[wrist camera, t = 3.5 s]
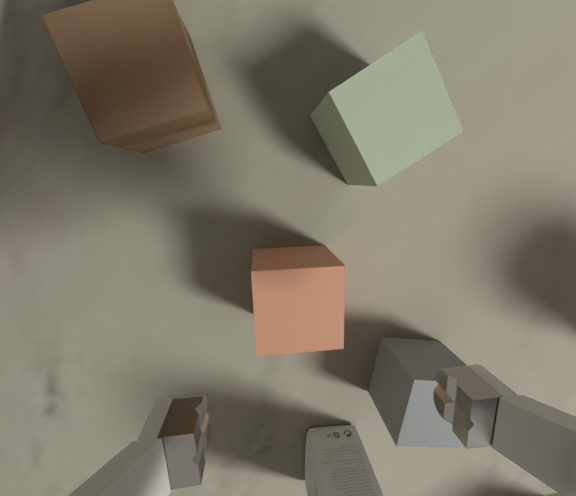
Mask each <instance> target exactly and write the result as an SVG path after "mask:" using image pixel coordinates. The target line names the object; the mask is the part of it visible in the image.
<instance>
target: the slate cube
mask: <svg viewBox="0 0 576 496" xmlns="http://www.w3.org/2000/svg"><path fill="white" fill-rule="evenodd" d="M463 366H467V365H466V364H465V363H464V362H463V361H461V360H460V359H459V358H458V357H457V356H456V355H455V354H454V353H453V352H451V351H450V350H449V349H448V348H447V347H446V346H445V345H444V344H442V343H441V342H440V341H434V340H421V339H407V338H393V337H381V338H380V342H379V347H378V351H377V355H376V360H375V364H374V368H373V373H372V377H371V381H370V385H369V390H368V392H369V394H370V396H371V398H372V400H373V402H374V404H375V406H376V408H377V409H378V411H379V413H380V415H381V417H382V419H383V421H384V423H385V425H386V427H387V429H388V431H389V433H390V435H391V437H392V439H393V441H394V442H395V444H396V446H416V447H462V448H466V447H465V446H464V445H463V444H462V442H461V441H460V440H459V439H458V437H457V436H456V435H455V434H454V432H453V431H452V424H450V423H449V422H447V421H445V420H443V418H442V417H441V416H440V414H439V413H438V411H437V409H436V407H435V403H434V399H433V394H434V389H435V388H436V386H437V385H438V383H437V382H436V380H435V373H436V371H437V369H445V368H454V367H463Z"/></svg>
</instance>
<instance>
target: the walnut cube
mask: <svg viewBox="0 0 576 496" xmlns="http://www.w3.org/2000/svg"><path fill="white" fill-rule="evenodd" d="M42 17H43V19H44V21H45V23H46V26H47V28H48V30H49V32H50V35H51V37H52V39H53V41H54V43H55V46H56V48H57V50H58V52H59V54H60V57H61V59H62V61H63V63H64V66H65V68H66V70H67V72H68V74H69V77H70V79H71V81H72V83H73V85H74V88H75V90H76V92H77V94H78V97H79V99H80V101H81V103H82V105H83V108H84V110H85V112H86V114H87V116H88V119H89V121H90V123H91V125H92V128H93V130H94V132H95V134H96V136H97V139H98V141H99V143H103V144H107V145H112V146H116V147H120V148H125V149H129V150H133V151H137V152H142V153H144V152H147V151H151V150H154V149H157V148H160V147H164V146H167V145H170V144H173V143H177V142H180V141H183V140H186V139H190V138H193V137H196V136H199V135H203V134H206V133H209V132H212V131H216V130H219V129H221V126H220V123H219V120H218V117H217V114H216V111H215V108H214V105H213V102H212V100H211V97H210V94H209V91H208V88H207V85H206V82H205V79H204V76H203V73H202V70H201V67H200V64H199V61H198V58H197V55H196V52H195V49H194V46H193V43H192V41H191V38H190V36H189V34H188V32H187V30H186V27H185V25H184V23H183V21H182V19H181V17H180V15H179V13H178V11H177V9H176V7H175V4H174V2H173V0H91V1H87V2H84V3H80V4H77V5H74V6H70V7H67V8H63V9H60V10H56V11H53V12H50V13H46V14H43V15H42Z"/></svg>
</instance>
